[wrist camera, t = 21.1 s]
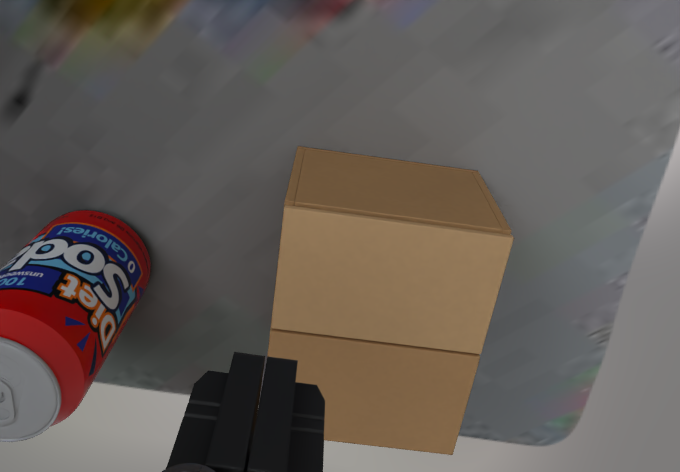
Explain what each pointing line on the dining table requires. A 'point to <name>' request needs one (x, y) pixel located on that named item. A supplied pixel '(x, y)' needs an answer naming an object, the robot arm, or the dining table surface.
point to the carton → (380, 357)
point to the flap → (387, 279)
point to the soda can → (64, 316)
